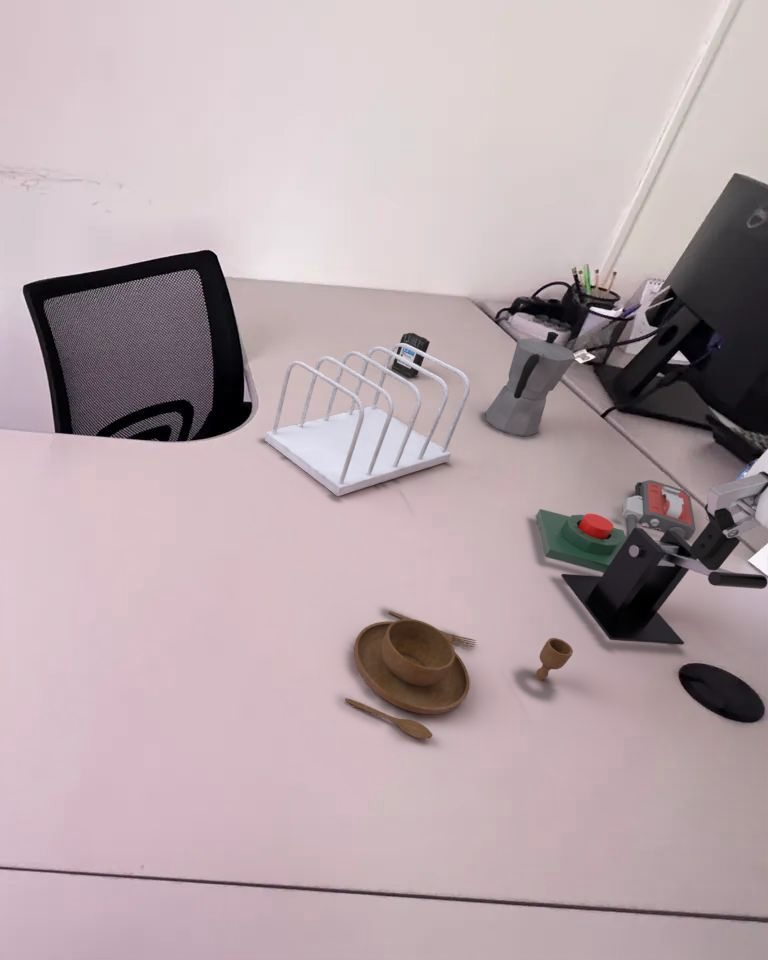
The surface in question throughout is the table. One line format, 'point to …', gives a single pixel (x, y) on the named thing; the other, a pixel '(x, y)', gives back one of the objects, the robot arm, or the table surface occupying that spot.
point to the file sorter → (362, 430)
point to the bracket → (633, 589)
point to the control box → (576, 541)
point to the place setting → (424, 668)
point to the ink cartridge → (410, 354)
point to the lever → (714, 576)
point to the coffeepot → (529, 385)
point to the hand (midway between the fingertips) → (747, 564)
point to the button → (596, 526)
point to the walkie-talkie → (660, 509)
